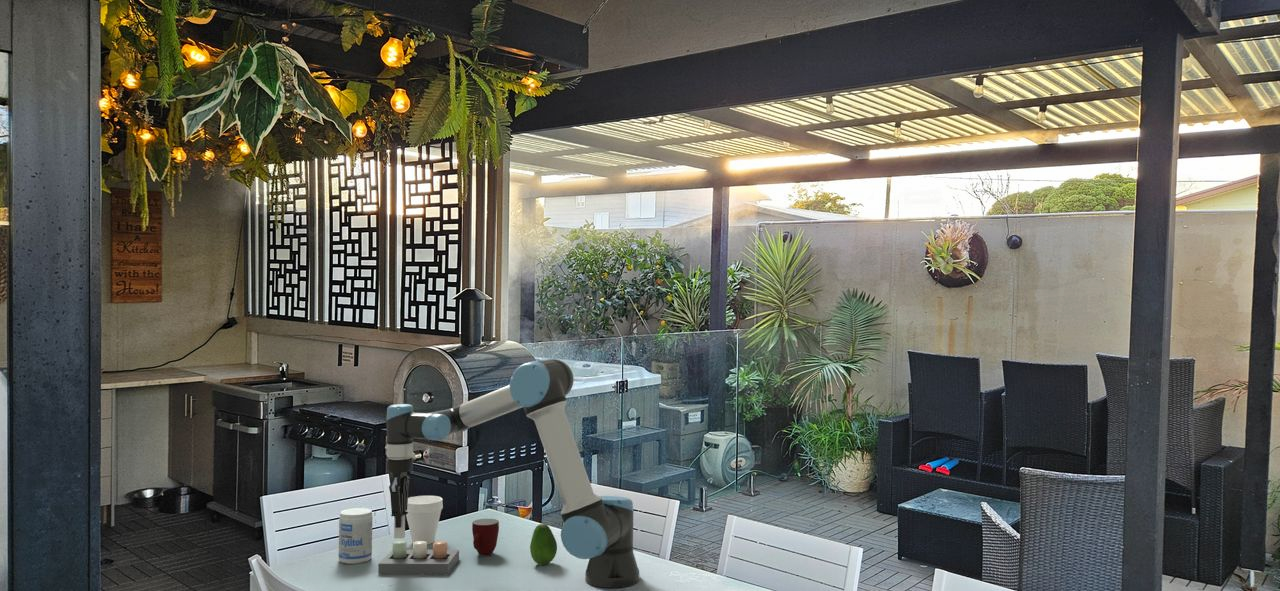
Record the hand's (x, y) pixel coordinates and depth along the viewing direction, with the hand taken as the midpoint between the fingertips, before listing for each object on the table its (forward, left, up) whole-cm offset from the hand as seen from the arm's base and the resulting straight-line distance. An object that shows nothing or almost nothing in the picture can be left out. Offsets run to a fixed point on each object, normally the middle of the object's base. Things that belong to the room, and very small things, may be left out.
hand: (399, 537), depth 255 cm
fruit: (-33, -26, -9) cm, 43 cm away
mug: (-12, -22, -9) cm, 27 cm away
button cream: (-5, -3, -6) cm, 8 cm away
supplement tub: (+16, +4, -9) cm, 19 cm away
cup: (+15, -21, -9) cm, 28 cm away
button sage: (0, 0, -6) cm, 6 cm away
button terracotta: (-10, -7, -6) cm, 13 cm away
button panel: (-5, -3, -9) cm, 10 cm away
